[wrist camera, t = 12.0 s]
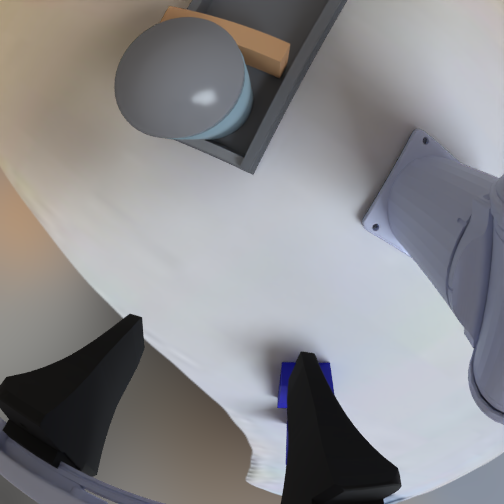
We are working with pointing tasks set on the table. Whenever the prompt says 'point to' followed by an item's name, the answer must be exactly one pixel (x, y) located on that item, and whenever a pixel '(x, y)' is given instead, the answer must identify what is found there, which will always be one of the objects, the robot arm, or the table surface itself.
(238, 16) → the tray
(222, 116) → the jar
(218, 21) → the bar
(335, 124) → the table surface
